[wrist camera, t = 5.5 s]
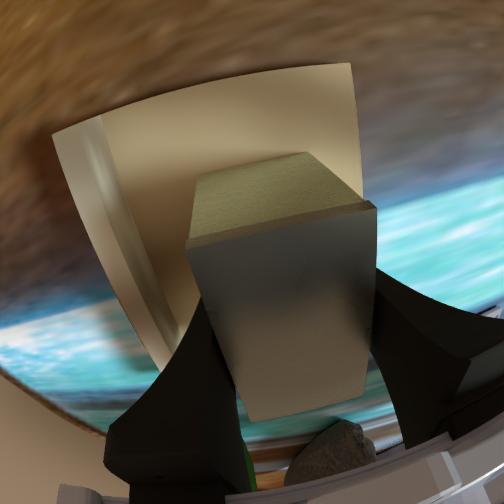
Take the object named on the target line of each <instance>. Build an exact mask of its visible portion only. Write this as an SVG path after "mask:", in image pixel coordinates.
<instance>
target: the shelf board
mask: <svg viewBox="0 0 504 504" xmlns="http://www.w3.org/2000/svg"><path fill="white" fill-rule="evenodd" d="M52 138H53V142H54V145H55V148H56V151H57V154H58V157H59V160H60V163H61V166H62V169H63V172H64V175H65V177H66V180H67V183H68V186H69V188H70V191H71V194H72V196H73V199H74V202H75V204H76V207H77V209H78V212H79V214H80V217H81V219H82V221H83V224H84V226H85V229H86V231H87V233H88V236H89V238H90V240H91V242H92V245H93V247H94V249H95V251H96V254H97V256H98V258H99V260H100V262H101V264H102V266H103V268H104V271H105V273H106V275H107V277H108V280H109V282H110V284H111V286H112V288H113V290H114V292H115V294H116V296H117V298H118V300H119V302H120V304H121V306H122V308H123V310H124V311H125V313H126V315H127V317H128V319H129V321H130V322H131V324H132V326H133V328H134V330H135V331H136V333H137V335H138V337H139V338H140V340H141V342H142V344H143V345H144V347H146V349H147V351H148V353H149V354H150V356H151V357H152V359H153V361H154V362H155V364H156V366H157V367H158V369H159V371H160V372H162V371H163V369H164V368H165V366H166V365H167V363H168V362H169V360H170V359H171V357H172V356H173V354H174V352H175V351H176V349H177V347H178V345H179V343H180V341H181V340H182V338H183V336H184V334H185V332H186V330H187V328H188V326H189V323H190V321H191V319H192V317H193V314H194V312H195V310H196V307H197V305H198V302H199V299H200V296H201V295H200V292H199V289H198V286H197V284H196V281H195V278H194V275H193V272H192V269H191V266H190V264H189V261H188V258H187V255H186V252H185V244H186V239H189V234H190V227H191V219H192V212H193V205H194V198H195V191H196V185H197V178H198V174H202V173H206V172H210V171H215V170H219V169H223V168H228V167H232V166H237V165H242V164H246V163H251V162H256V161H261V160H266V159H271V158H276V157H281V156H287V155H292V154H298V153H304V152H309V153H310V154H312V155H313V156H314V157H315V158H316V159H318V160H319V161H320V162H321V163H322V164H324V165H325V166H326V167H327V168H328V169H330V170H331V171H332V172H333V173H334V174H335V175H337V176H338V177H339V178H340V179H341V180H342V181H343V182H345V183H346V184H347V185H348V186H349V187H350V188H351V189H353V190H354V191H355V192H356V193H357V194H358V195H359V196H360V197H361V198H362V199H363V189H362V170H361V155H360V142H359V131H358V121H357V111H356V103H355V94H354V87H353V79H352V72H351V66H350V63H339V64H325V65H313V66H303V67H295V68H287V69H279V70H272V71H265V72H259V73H253V74H247V75H242V76H237V77H231V78H226V79H222V80H217V81H212V82H208V83H204V84H199V85H195V86H191V87H187V88H183V89H179V90H176V91H172V92H168V93H165V94H161V95H158V96H155V97H151V98H148V99H145V100H142V101H138V102H135V103H132V104H129V105H126V106H123V107H120V108H118V109H115V110H112V111H109V112H106V113H104V114H101V115H98V116H96V117H93V118H90V119H88V120H85V121H83V122H80V123H78V124H75V125H73V126H70V127H68V128H66V129H63V130H61V131H59V132H57V133H54V134H52Z"/></svg>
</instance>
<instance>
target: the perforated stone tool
mask: <svg viewBox="0 0 504 504" xmlns="http://www.w3.org/2000/svg"><path fill="white" fill-rule="evenodd" d="M377 461H379V460H378V459H377V456H376V452H375V447H374V444H373V442H372V441H371V440H370V439H368V438H366V437H365V436H364V435H363V429H362V427H361V426H360V425H359V424H355V423H353V422H349V421H347V420H341V421H340V422H338V423H336V424H335V425H333V426H331V427H330V428H328V429H327V430H325V431H323V432H322V433H320V434H319V435H318V436H317V437H316V438H315V439H314V440H313V441H311V442H310V443H309V444H308V445H307V446H306V447H305V448H304V449H303V450H302V451H301V452H300V453H299V454H298V455H297V457H296V458H295V459H294V460H293V461H292V463H291V464H290V466H289V468H288V470H287V472H286V475H285V479H284V487H286V486H291V485H296V484H300V483H305V482H309V481H313V480H317V479H321V478H325V477H329V476H332V475H336V474H339V473H343V472H346V471H350V470H353V469H356V468H359V467H362V466H365V465H368V464H371V463H374V462H377Z"/></svg>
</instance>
